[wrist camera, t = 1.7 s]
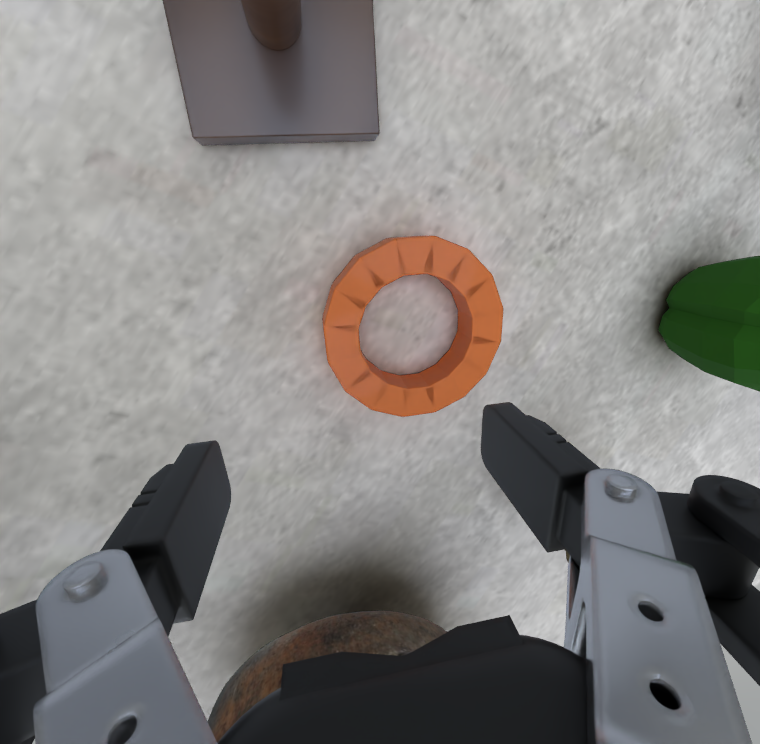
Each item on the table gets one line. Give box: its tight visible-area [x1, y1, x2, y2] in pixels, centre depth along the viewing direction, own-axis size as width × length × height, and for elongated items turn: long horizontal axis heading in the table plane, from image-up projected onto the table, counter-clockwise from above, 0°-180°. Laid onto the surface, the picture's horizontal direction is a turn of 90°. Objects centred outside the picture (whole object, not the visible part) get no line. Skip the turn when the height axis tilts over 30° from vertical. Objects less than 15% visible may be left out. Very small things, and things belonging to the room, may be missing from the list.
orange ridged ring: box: [322, 236, 503, 417], centre depth 22 cm, size 11×11×2 cm
